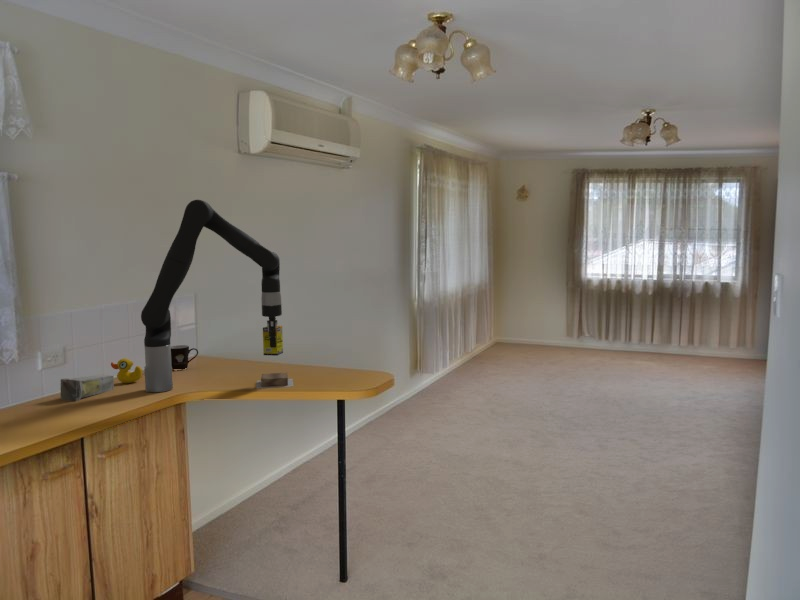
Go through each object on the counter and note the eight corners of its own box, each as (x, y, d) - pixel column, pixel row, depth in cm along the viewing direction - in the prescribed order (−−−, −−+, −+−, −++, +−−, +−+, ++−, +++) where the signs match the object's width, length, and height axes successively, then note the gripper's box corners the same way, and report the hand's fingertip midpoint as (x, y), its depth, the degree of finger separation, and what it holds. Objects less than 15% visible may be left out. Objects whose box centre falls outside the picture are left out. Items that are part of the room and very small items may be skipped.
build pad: (255, 389, 240) (255, 388, 240) (257, 381, 253) (257, 380, 253) (293, 387, 242) (293, 386, 242) (292, 379, 256) (292, 378, 256)
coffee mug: (166, 371, 277) (165, 348, 276) (174, 367, 285) (173, 345, 284) (192, 371, 276) (191, 348, 275) (199, 367, 285) (198, 345, 284)
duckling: (111, 385, 250) (109, 360, 249) (112, 383, 255) (111, 358, 254) (142, 383, 254) (140, 358, 253) (143, 380, 259) (141, 356, 258)
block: (102, 388, 247) (101, 368, 246) (118, 390, 244) (117, 370, 243) (60, 400, 230) (58, 378, 229) (76, 402, 226) (75, 380, 226)
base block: (261, 387, 242) (261, 379, 242) (262, 381, 252) (261, 373, 251) (287, 385, 244) (287, 377, 244) (287, 379, 254) (287, 372, 253)
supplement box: (277, 355, 243) (276, 327, 242) (263, 355, 244) (262, 327, 243) (283, 353, 249) (282, 325, 248) (269, 352, 250) (268, 325, 249)
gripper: (262, 302, 251) (263, 343, 253) (261, 305, 237) (262, 349, 239) (281, 301, 252) (282, 342, 254) (281, 305, 238) (283, 348, 240)
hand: (273, 345), depth 246 cm, fingers closed on supplement box, 7 cm apart
